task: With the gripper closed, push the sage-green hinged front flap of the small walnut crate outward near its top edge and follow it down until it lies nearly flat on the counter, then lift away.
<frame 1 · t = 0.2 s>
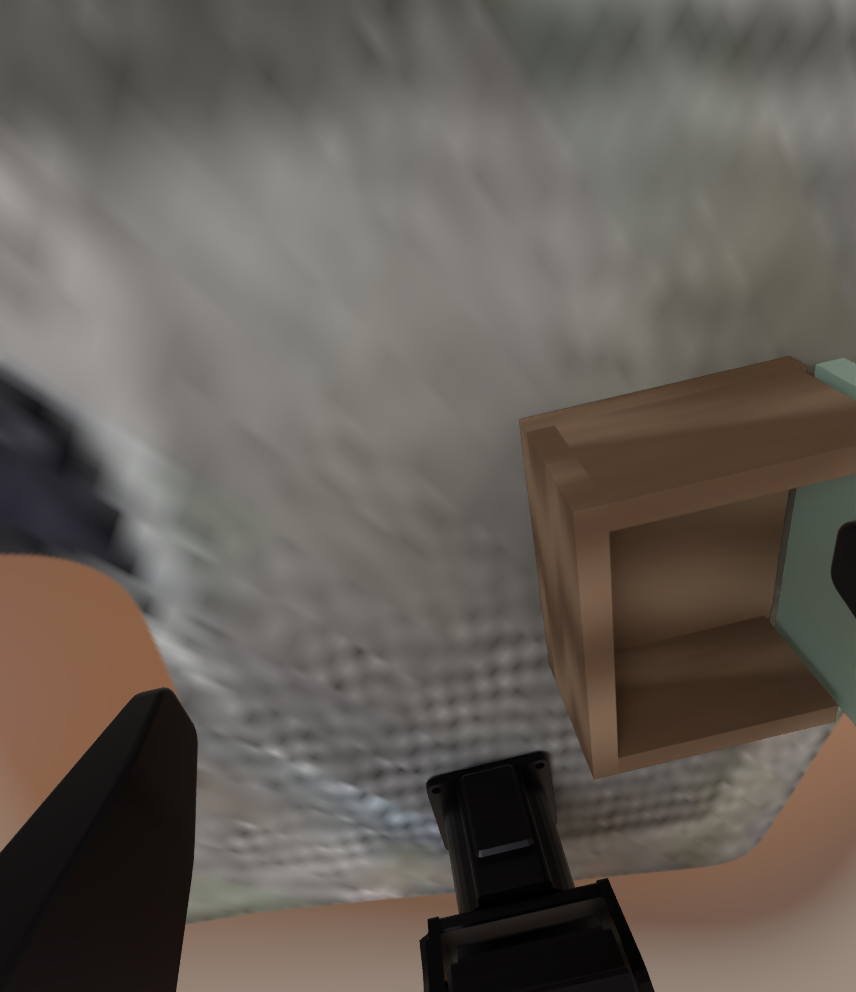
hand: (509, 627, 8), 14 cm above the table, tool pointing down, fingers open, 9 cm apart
crate: (653, 530, 26), on the table
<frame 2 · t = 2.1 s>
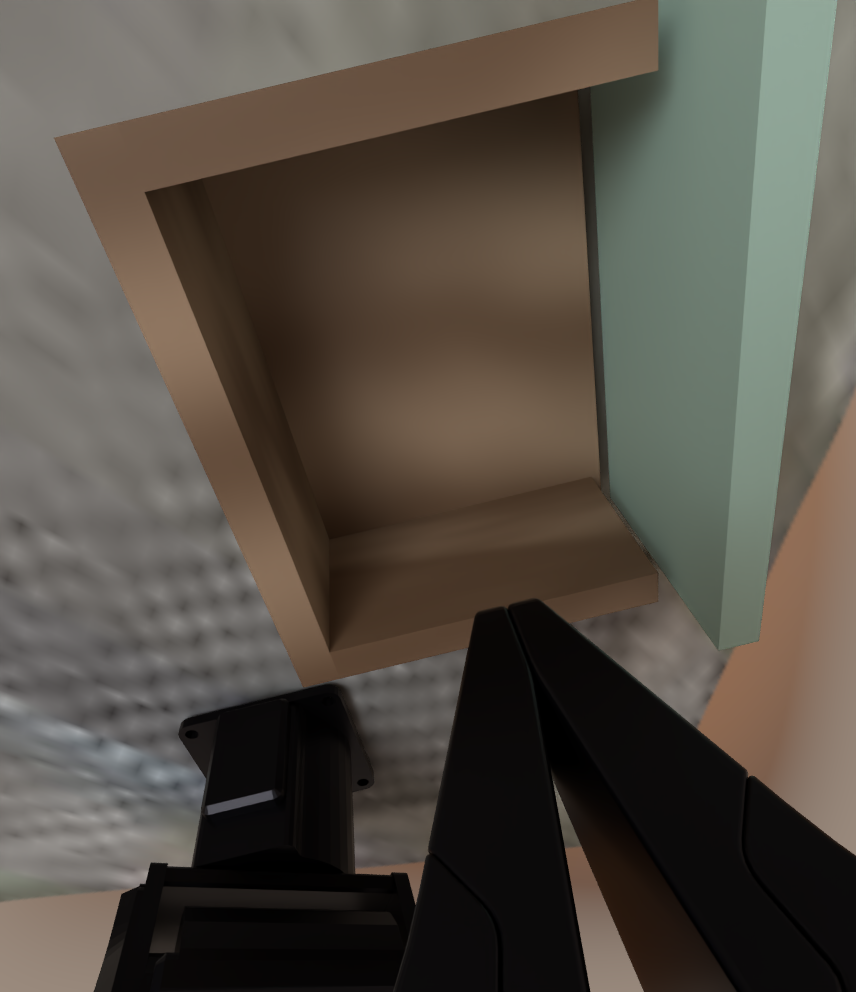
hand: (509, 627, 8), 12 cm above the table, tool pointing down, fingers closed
crate: (411, 338, 19), on the table
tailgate: (676, 342, 15), point 4 cm above the table, hinge at 0.0°
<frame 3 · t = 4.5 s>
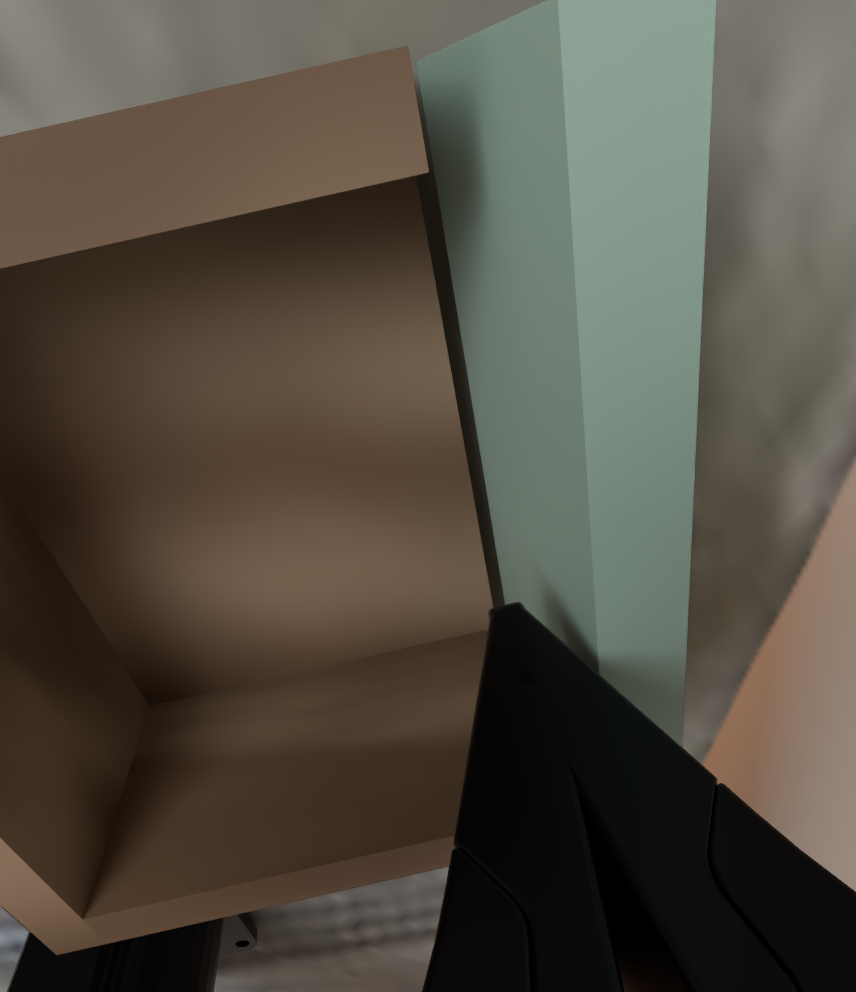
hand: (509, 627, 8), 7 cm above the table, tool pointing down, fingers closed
crate: (233, 467, 14), on the table
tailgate: (551, 522, 10), point 4 cm above the table, hinge at 1.1°, touching gripper
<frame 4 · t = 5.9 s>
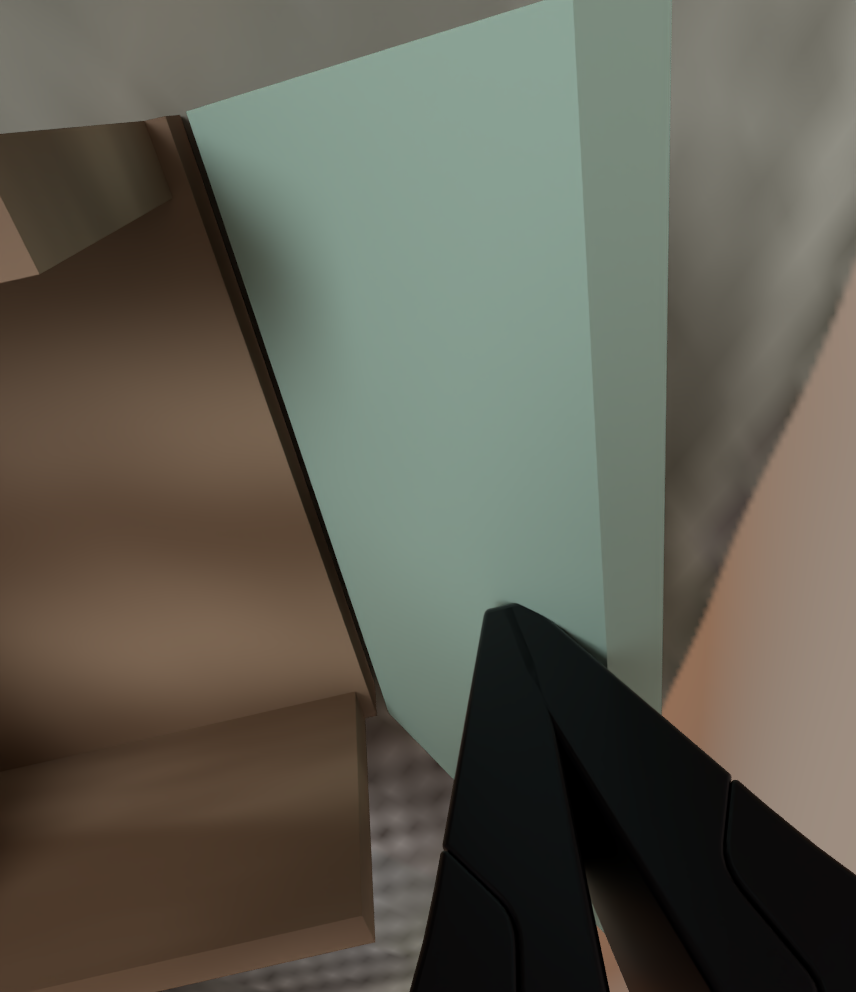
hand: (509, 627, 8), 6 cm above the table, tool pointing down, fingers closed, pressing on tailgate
crate: (66, 527, 13), on the table
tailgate: (449, 555, 10), point 4 cm above the table, hinge at 31.2°, touching gripper
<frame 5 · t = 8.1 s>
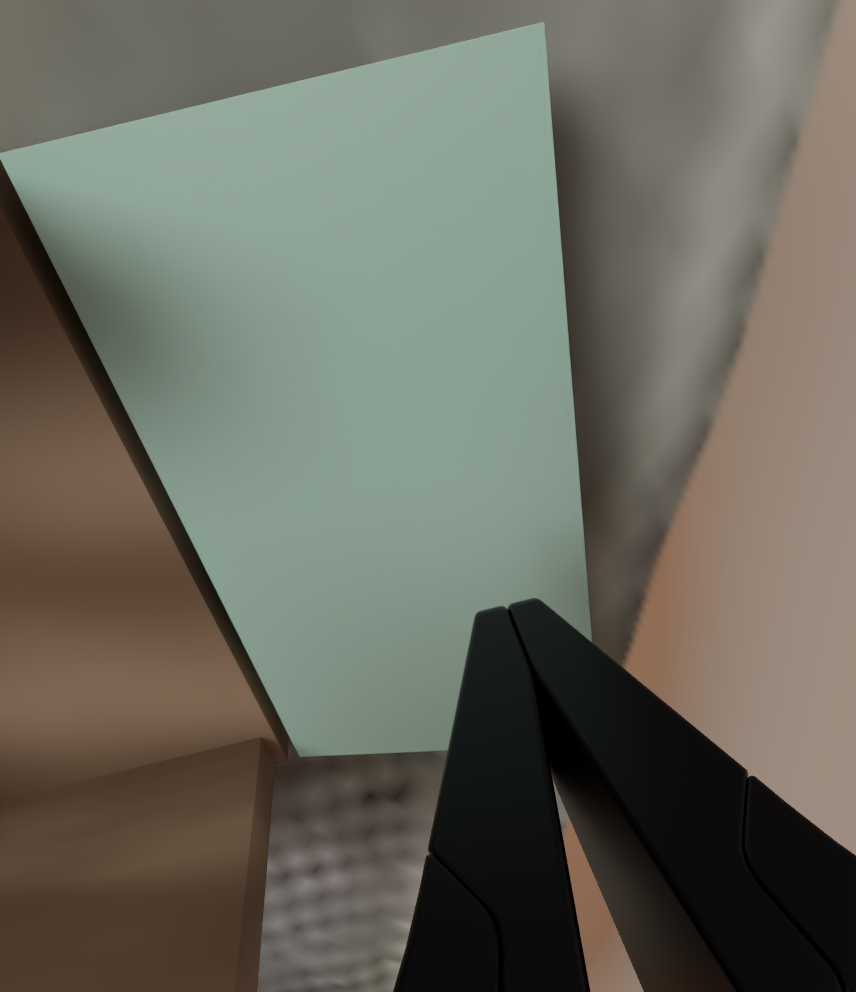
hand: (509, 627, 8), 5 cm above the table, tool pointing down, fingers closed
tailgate: (380, 508, 12), point 1 cm above the table, hinge at 77.4°
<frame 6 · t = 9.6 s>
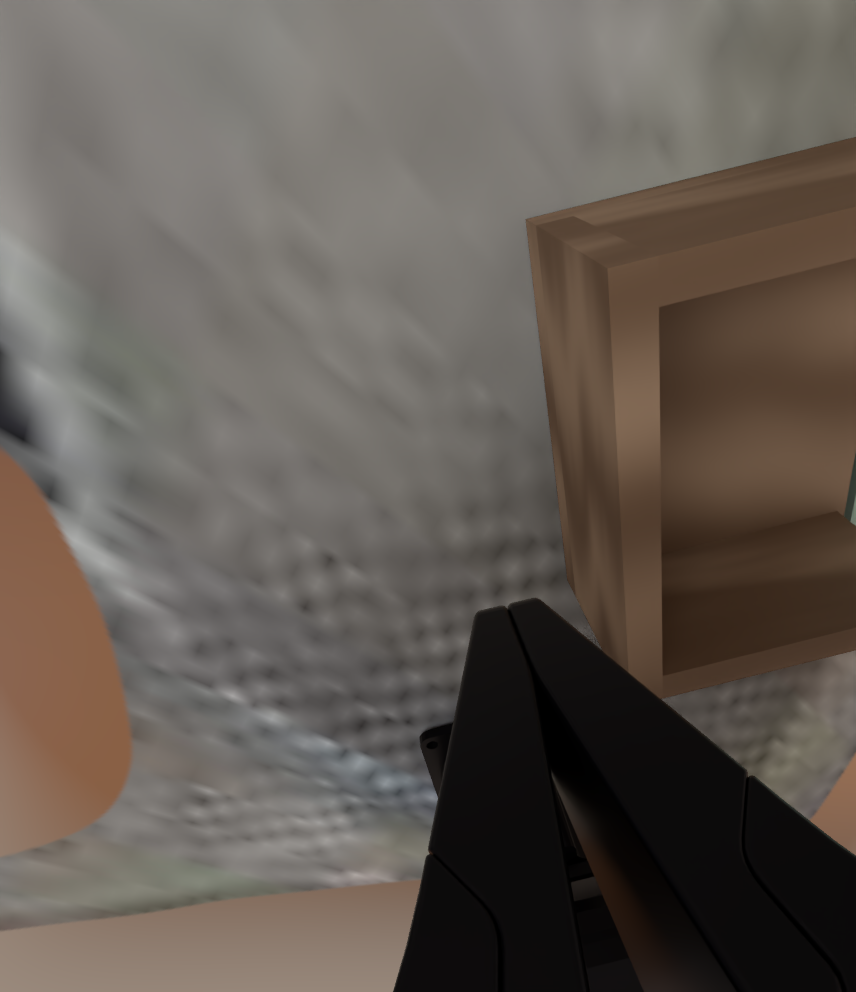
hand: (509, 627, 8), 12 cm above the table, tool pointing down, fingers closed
crate: (699, 392, 21), on the table
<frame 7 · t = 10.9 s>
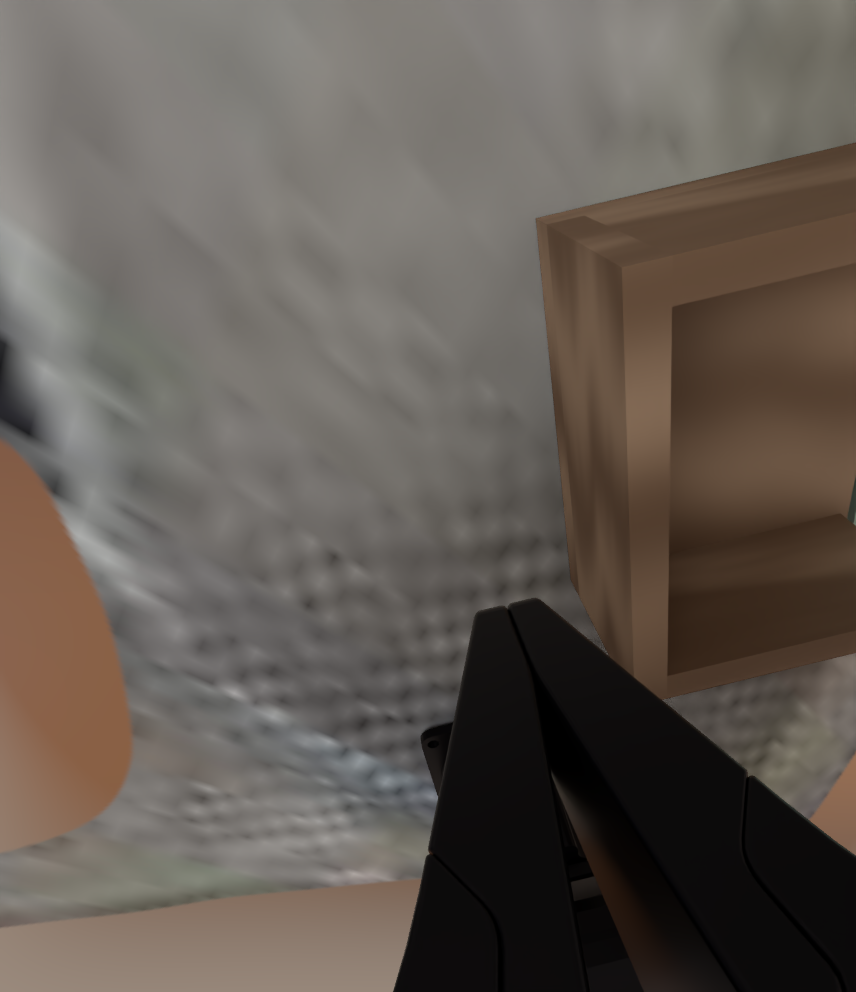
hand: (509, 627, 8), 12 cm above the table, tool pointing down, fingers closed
crate: (705, 393, 21), on the table
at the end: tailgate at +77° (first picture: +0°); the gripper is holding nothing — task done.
